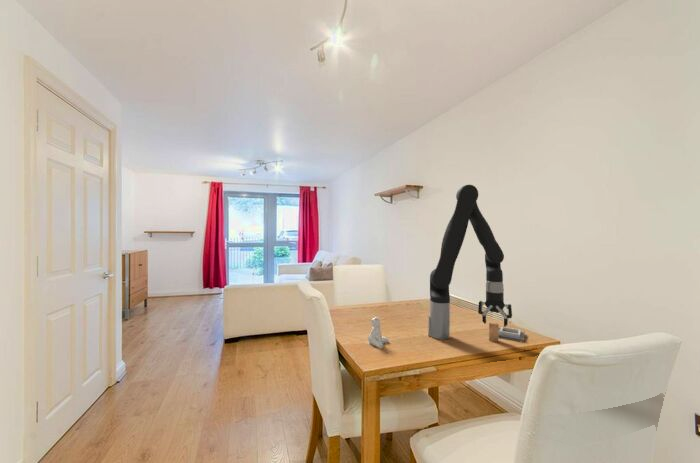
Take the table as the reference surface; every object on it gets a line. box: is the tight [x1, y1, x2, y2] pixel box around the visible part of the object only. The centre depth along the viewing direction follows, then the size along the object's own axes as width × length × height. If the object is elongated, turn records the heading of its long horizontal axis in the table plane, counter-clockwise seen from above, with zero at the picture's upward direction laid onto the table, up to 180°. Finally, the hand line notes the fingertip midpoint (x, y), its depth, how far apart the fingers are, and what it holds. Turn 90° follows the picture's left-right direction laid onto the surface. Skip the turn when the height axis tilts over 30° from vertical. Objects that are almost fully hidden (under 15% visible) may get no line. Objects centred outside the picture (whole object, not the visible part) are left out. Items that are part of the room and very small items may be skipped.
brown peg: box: [488, 322, 500, 343], centre depth 139 cm, size 4×4×8 cm
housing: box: [498, 326, 526, 343], centre depth 146 cm, size 12×12×3 cm
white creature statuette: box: [367, 316, 389, 349], centre depth 134 cm, size 10×9×12 cm
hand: (494, 324), depth 139 cm, fingers open, 8 cm apart
